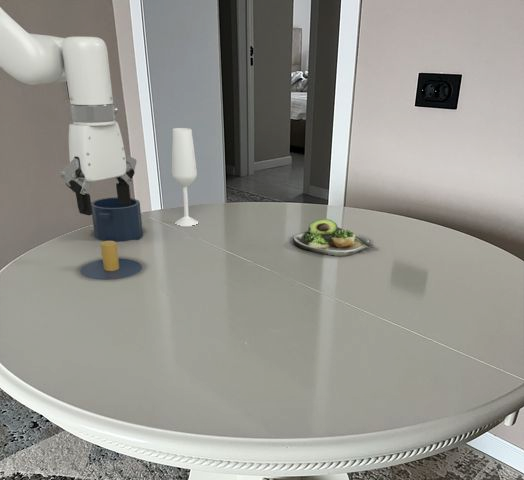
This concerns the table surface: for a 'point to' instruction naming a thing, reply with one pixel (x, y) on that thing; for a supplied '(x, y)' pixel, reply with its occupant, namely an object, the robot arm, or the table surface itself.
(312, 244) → the salad plate
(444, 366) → the table surface
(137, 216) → the pot
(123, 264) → the lid
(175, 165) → the champagne flute
